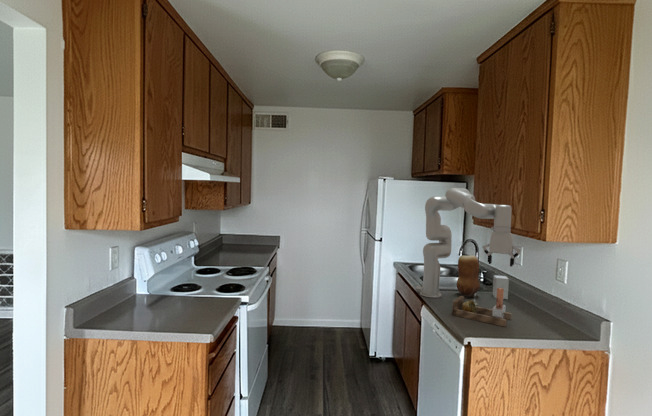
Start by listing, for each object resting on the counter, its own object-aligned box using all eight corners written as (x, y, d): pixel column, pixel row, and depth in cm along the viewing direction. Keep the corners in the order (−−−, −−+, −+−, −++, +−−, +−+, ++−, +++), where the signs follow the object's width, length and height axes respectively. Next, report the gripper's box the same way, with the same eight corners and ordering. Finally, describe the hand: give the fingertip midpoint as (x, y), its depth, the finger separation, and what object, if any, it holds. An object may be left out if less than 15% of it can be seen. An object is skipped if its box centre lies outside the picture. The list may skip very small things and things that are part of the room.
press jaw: (491, 320, 182) (493, 289, 181) (496, 315, 191) (498, 285, 190) (500, 322, 180) (502, 291, 179) (504, 317, 188) (506, 287, 188)
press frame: (452, 314, 191) (452, 301, 191) (459, 308, 203) (460, 295, 202) (505, 326, 177) (506, 312, 177) (510, 319, 188) (511, 305, 188)
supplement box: (505, 296, 232) (506, 276, 231) (507, 299, 225) (509, 278, 224) (492, 295, 234) (493, 274, 233) (494, 298, 227) (495, 277, 226)
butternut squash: (456, 292, 238) (458, 252, 236) (479, 295, 232) (482, 254, 231) (455, 297, 225) (457, 255, 224) (479, 300, 220) (481, 258, 218)
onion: (475, 312, 196) (476, 297, 196) (478, 317, 189) (479, 302, 188) (460, 311, 198) (460, 296, 198) (462, 316, 190) (463, 300, 190)
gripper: (481, 229, 186) (479, 263, 187) (520, 231, 176) (518, 268, 176) (485, 228, 192) (483, 261, 193) (523, 231, 182) (521, 266, 182)
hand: (500, 264), depth 184 cm, fingers open, 9 cm apart
